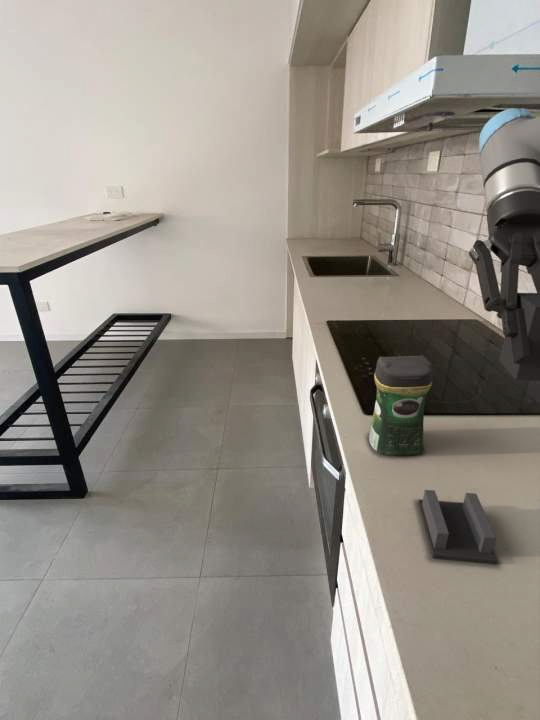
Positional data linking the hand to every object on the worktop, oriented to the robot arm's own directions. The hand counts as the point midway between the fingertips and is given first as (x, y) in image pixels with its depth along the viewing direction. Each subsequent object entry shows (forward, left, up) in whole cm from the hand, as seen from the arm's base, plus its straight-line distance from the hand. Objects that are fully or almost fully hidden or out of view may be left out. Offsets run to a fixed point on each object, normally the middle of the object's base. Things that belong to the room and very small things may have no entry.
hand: (538, 360), depth 49 cm
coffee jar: (+12, -16, -26) cm, 33 cm away
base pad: (+7, +4, -26) cm, 27 cm away
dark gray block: (0, -4, -3) cm, 5 cm away
